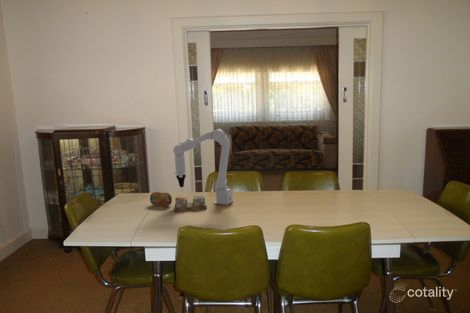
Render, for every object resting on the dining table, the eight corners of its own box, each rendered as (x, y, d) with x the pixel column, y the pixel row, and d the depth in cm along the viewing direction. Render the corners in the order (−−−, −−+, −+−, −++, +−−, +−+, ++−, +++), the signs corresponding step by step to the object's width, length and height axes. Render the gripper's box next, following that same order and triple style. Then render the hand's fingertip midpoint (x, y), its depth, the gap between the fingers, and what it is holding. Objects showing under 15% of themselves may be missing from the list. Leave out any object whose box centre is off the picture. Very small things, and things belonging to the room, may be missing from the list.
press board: (205, 204, 213) (204, 194, 212) (206, 209, 204) (206, 198, 203) (175, 206, 211) (174, 197, 210) (174, 211, 201) (174, 201, 200)
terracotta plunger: (185, 202, 208) (184, 196, 208) (185, 204, 204) (184, 197, 204) (178, 203, 208) (177, 196, 207) (178, 205, 204) (177, 198, 203)
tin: (150, 205, 217) (149, 191, 216) (153, 203, 220) (152, 190, 219) (169, 207, 210) (168, 193, 209) (173, 206, 213) (172, 192, 212)
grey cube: (202, 202, 210) (201, 195, 209) (202, 204, 206) (202, 197, 205) (195, 202, 209) (195, 196, 209) (195, 204, 205) (195, 198, 205)
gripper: (173, 163, 220) (175, 184, 222) (173, 167, 206) (174, 190, 208) (185, 162, 221) (186, 183, 223) (185, 166, 207) (187, 189, 209)
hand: (181, 186), depth 216 cm, fingers closed
